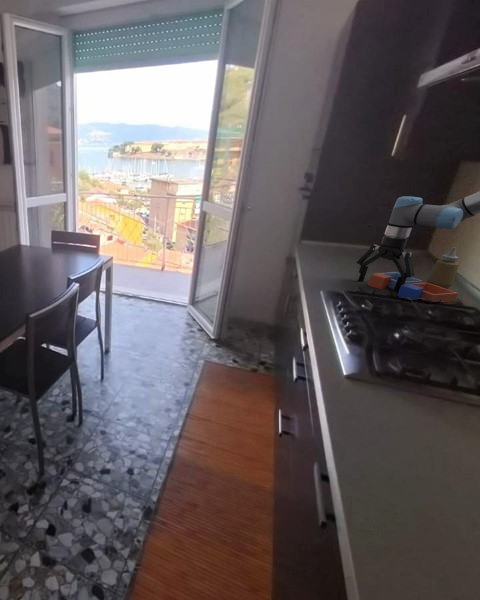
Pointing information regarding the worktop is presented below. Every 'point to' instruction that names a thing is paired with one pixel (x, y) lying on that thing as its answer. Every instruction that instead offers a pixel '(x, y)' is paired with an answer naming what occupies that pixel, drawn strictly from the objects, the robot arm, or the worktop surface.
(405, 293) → the blue cube
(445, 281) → the squeeze bottle
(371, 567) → the worktop surface
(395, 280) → the blue bin
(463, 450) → the worktop surface
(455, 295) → the terracotta bin
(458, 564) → the worktop surface
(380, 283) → the terracotta cube
